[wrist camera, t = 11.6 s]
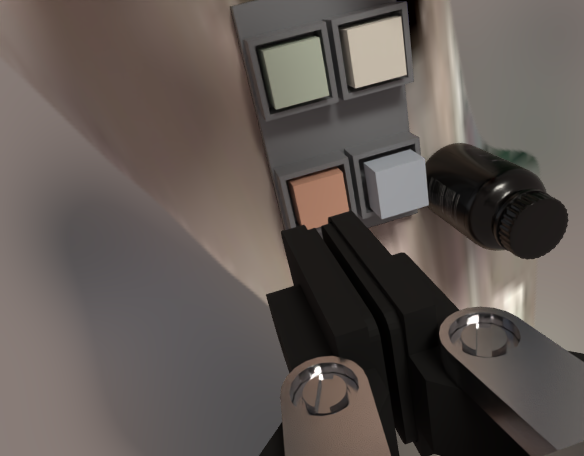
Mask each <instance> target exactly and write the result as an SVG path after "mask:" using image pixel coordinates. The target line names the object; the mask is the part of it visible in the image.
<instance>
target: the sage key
mask: <svg viewBox="0 0 584 456" xmlns="http://www.w3.org/2000/svg"><path fill="white" fill-rule="evenodd" d="M257 51H258V55H259V60H260V64H261V68H262V73H263V77H264V82H265V86H266V90H267V95H268V99H269V103H270V104H271V105H272V106H273V107H274V108H275V109H276V110H277V109H281V108H284V107H288V106H292V105H295V104H299V103H303V102H307V101H310V100H314V99H318V98H322V97H325V96H329V91H328V85H327V79H326V73H325V67H324V62H323V56H322V50H321V44H320V38H319V37H316V36H312V35H308V36H304V37H300V38H296V39H292V40H288V41H284V42H280V43H276V44H272V45H268V46H264V47H260V48H257Z"/></svg>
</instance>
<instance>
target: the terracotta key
mask: <svg viewBox="0 0 584 456" xmlns="http://www.w3.org/2000/svg"><path fill="white" fill-rule="evenodd" d="M287 182H288V186H289V191H290V195H291V199H292V204H293V208H294V213H295V217H296V220H297V222H298V224H299V225H300V226H301V225H305V226H306V228H307V229H308V230H309V229H312V228H318V227H321V226H322V225H326V224H328V217H331V216H334V215H338V214H341V213H344V212H348V211H349V207H348V201H347V195H346V190H345V184H344V178H343V172H342V171H341V170H340V169H339V168H338V167H337V166H334V167H331V168H327V169H324V170H320V171H317V172H313V173H310V174H306V175H303V176H299V177H296V178H292V179H289V180H287Z"/></svg>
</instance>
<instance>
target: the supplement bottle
mask: <svg viewBox="0 0 584 456" xmlns="http://www.w3.org/2000/svg"><path fill="white" fill-rule="evenodd" d="M425 167H426V178H427V189H428V201H429V205H428V206H427V207H428V208H429V209H430V210H431V211H433V212H434V213H435V214H437V215H438V216H439V217H441V218H442V219H443V220H445V221H446V222H447V223H449V224H450V225H451V226H453V227H454V228H455V229H457V230H458V231H459V232H461V233H462V234H463V235H465V236H466V237H467V238H469V239H470V240H471V241H473V242H474V243H476V244H477V245H479V246H480V247H482V248H485V249H488V250H495V251H500V250H507V251H510V252H511V253H513V254H514V255H516V256H518V257H520V258H522V259H524V258H525V259H535V258H539V257H541V256H544V255H545V254H546V253H548V252H550V251H551V250H552V249H554V248H555V247H556V245H557V244H558V243H559V242H560V240H561V239H562V238H563V235H564V233H565V232H566V227H567V222H568V214H567V209H566V208H565V206H564V205H563V204H562V203H561V202H560V201H559V200H557V199H555V198H553V197H551V196H550V195H548V194H547V193H546V189H545V187H544V185H543V183H542V181H541V180H540V179H539V177H538V176H537V175H535V174H534V173H533V172H531V171H529V170H527V169H525V168H523V167H520V166H518V165H516V164H514V163H511V162H509V161H507V160H505V159H502V158H500V157H498V156H496V155H493V154H491V153H489V152H486V151H484V150H482V149H480V148H477V147H475V146H472V145H469V144H465V143H455V144H451V145H448V146H445V147H443V148H441V149H440V150H438V151H437V152H436V153H434V154H433V155H432V156H431V157H430V158H429V160H428V161H427V162H426V164H425Z"/></svg>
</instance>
